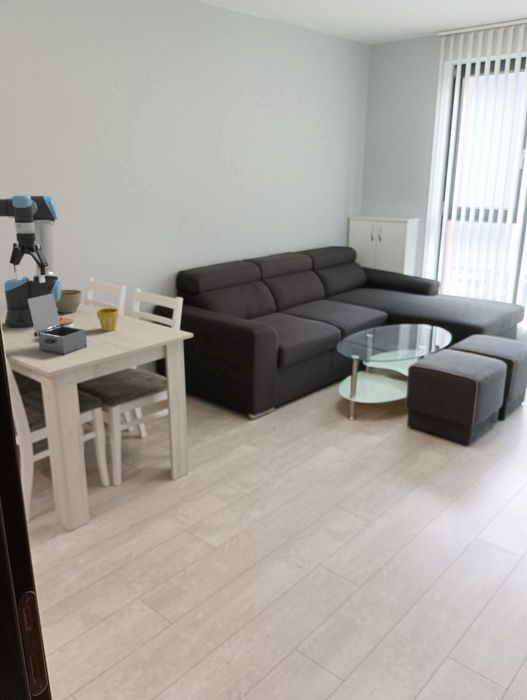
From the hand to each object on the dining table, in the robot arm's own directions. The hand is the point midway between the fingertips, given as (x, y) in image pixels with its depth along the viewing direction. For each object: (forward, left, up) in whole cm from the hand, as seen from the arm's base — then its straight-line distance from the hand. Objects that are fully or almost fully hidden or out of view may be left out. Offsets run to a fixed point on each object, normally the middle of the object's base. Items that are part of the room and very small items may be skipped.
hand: (30, 281), depth 255 cm
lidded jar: (+2, +14, -29) cm, 32 cm away
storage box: (+17, -1, -29) cm, 33 cm away
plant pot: (+13, +34, -29) cm, 47 cm away
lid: (+8, -1, -13) cm, 16 cm away
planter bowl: (-32, +53, -29) cm, 69 cm away
